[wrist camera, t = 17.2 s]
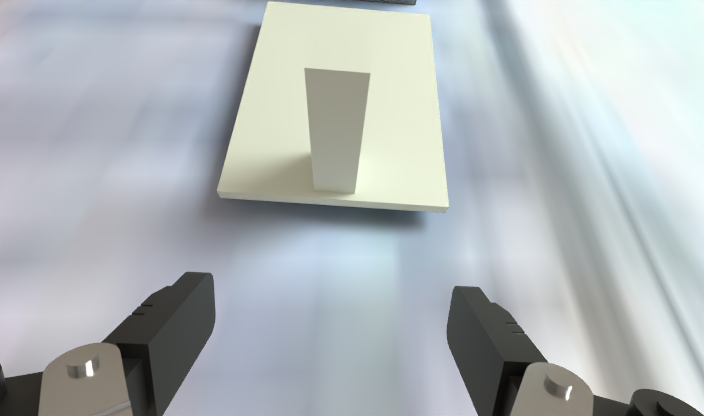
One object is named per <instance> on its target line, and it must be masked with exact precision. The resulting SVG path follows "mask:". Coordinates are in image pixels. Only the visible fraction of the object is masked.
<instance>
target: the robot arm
mask: <svg viewBox="0 0 704 416" xmlns="http://www.w3.org/2000/svg"><path fill="white" fill-rule="evenodd" d="M214 324H215V298H214V281H213V276H212V274H211V273H202V272H185V273H184V274H183V275H182V276H181V277H180V278H179V279H178V280H177V281H176V282H175V283H174V284H173V285H172V286H166V287H164V288H163V289H161V290H159V291H157V292H155V293H153V294H151V295H150V296H149V297H148V298H147V299H146V300H145V301H144V302H143V303H142V304H141V306H139V307H138V308H137V309H136V310H135V311H134V312H133V313H132V315H129V316H128V317H127V318H126V319H125V320H124V321H123V322H122V323H121V324H120V325H119V326H118V327H117V328H116V329H115V330H114V331H113V332H112V333H111V334H109V335H108V336H107V337H106V338H105V339H104V340H103V341H102V342H101V343H93V344H88V345H84V346H80V347H77V348H75V349H72V350H70V351H68V352H66V353H64V354H62V355H61V356H59V357H57V358H56V359H55V360H53V361H52V362H51V363H50V364H49V365H48V366H47V367H46V369H45V370H44V372H38V373H33V374H27V375H21V376H15V377H9V378H4V374H3V371H2V367H1V364H0V416H163V414H164V412H165V411H166V409H167V407H168V406H169V404H170V402H171V401H172V399H173V397H174V396H175V394H176V392H177V391H178V389H179V387H180V386H181V384H182V382H183V381H184V379H185V377H186V376H187V374H188V372H189V371H190V369H191V367H192V366H193V364H194V362H195V361H196V359H197V357H198V356H199V354H200V352H201V351H202V349H203V347H204V346H205V344H206V342H207V341H208V339H209V337H210V336H211V334H212V331H213V328H214ZM447 341H448V345H449V348H450V350H451V352H452V355H453V357H454V360H455V362H456V364H457V367H458V369H459V371H460V374H461V376H462V379H463V381H464V383H465V386H466V388H467V390H468V393H469V395H470V397H471V400H472V402H473V405H474V407H475V409H476V412H477V414H478V416H704V415H703V414H701V413H700V412H699V411H697V410H696V409H695V408H693V407H692V406H690V405H689V404H687V403H685V402H683V401H681V400H680V399H678V398H675V397H673V396H671V395H668V394H666V393H663V392H660V391H656V390H651V389H639V390H637V391H635V392H634V393H633V396H632V398H631V401H630V404H625V403H621V402H618V401H614V400H610V399H607V398H603V397H599V396H596V395H593V393H592V391H591V389H590V388H589V386H588V385H587V384H586V383H585V382H584V381H583V380H582V379H581V378H580V377H578V376H577V375H575V374H574V373H572V372H571V371H569V370H567V369H565V368H563V367H560V366H558V365H555V364H551V363H548V361H547V360H546V359H545V358H544V356H543V355H542V354H541V353H540V351H539V350H538V349H537V347H536V346H535V345H534V344H533V342H532V341H531V340H530V339H529V337H528V336H527V335H526V334H524V331H523V330H522V328H521V327H520V326H519V325H517V322H516V321H515V319H514V318H513V317H512V316H511V314H510V313H509V312H508V311H506V310H505V309H503V308H502V307H501V306H499V305H498V304H496V303H491V302H490V301H489V300H488V298H487V297H486V296H485V294H484V293H483V291H482V290H481V289H480V288H479V287H467V286H455V287H454V289H453V293H452V299H451V305H450V311H449V317H448V323H447Z"/></svg>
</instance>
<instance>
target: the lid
mask: <svg viewBox="0 0 704 416" xmlns="http://www.w3.org/2000/svg"><path fill="white" fill-rule="evenodd" d="M217 193H218V194H219V196H220V198H230V199H245V200H260V201H275V202H289V203H304V204H319V205H334V206H349V207H363V208H378V209H393V210H408V211H423V212H437V213H445V212H446V211H447V209H448V208H449V204H448V194H447V184H446V174H445V164H444V154H443V144H442V134H441V124H440V114H439V104H438V94H437V84H436V74H435V64H434V54H433V44H432V34H431V24H430V15H425V14H413V13H401V12H390V11H378V10H366V9H354V8H343V7H331V6H319V5H307V4H295V3H284V2H272V1H268V3H267V7H266V10H265V14H264V18H263V22H262V25H261V29H260V33H259V36H258V40H257V44H256V47H255V51H254V55H253V59H252V62H251V66H250V70H249V73H248V77H247V81H246V84H245V88H244V92H243V96H242V99H241V103H240V107H239V110H238V114H237V118H236V121H235V125H234V129H233V133H232V136H231V140H230V144H229V147H228V151H227V155H226V158H225V162H224V166H223V170H222V173H221V177H220V181H219V184H218V188H217Z"/></svg>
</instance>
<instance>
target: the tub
mask: <svg viewBox="0 0 704 416" xmlns="http://www.w3.org/2000/svg"><path fill="white" fill-rule="evenodd" d="M364 1H376V2H389V3H401V4H413V5H416V0H364Z"/></svg>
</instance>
